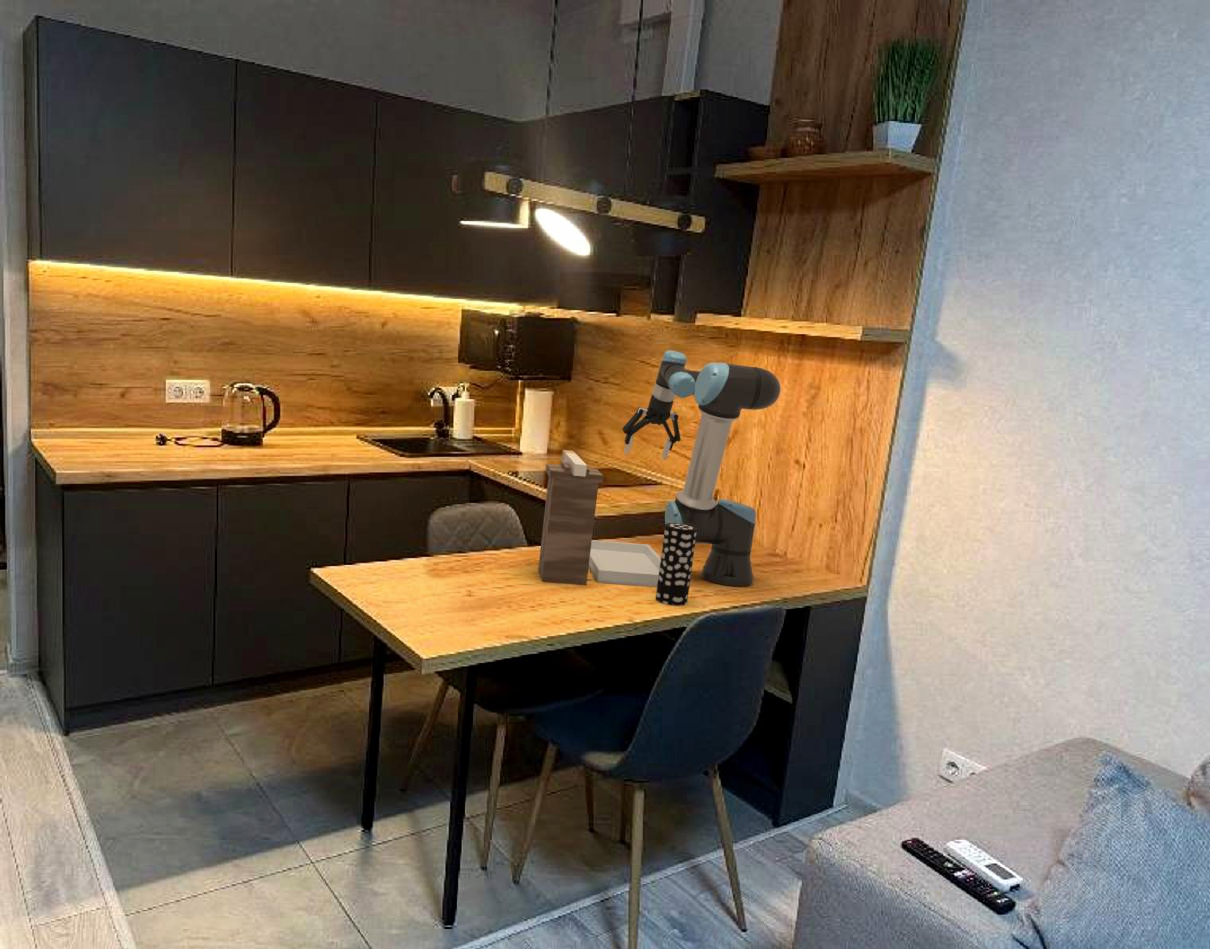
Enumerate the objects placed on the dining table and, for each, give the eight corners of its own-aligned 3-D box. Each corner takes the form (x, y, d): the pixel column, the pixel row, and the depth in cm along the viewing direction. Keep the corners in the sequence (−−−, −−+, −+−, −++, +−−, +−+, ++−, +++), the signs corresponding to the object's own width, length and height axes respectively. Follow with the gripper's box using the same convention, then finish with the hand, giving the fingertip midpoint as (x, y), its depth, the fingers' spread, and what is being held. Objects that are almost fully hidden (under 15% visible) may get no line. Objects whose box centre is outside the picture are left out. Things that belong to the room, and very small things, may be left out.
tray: (675, 588, 256) (676, 576, 255) (597, 582, 252) (598, 570, 251) (647, 555, 293) (648, 544, 292) (579, 549, 289) (580, 538, 288)
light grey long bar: (585, 476, 238) (586, 465, 238) (573, 475, 238) (575, 464, 237) (572, 461, 265) (573, 450, 265) (561, 460, 265) (562, 449, 264)
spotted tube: (663, 594, 248) (672, 521, 245) (691, 601, 244) (701, 527, 242) (650, 600, 241) (660, 525, 238) (679, 607, 237) (690, 531, 234)
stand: (590, 585, 248) (604, 471, 243) (538, 581, 245) (551, 466, 241) (583, 573, 260) (596, 464, 256) (534, 569, 258) (546, 459, 254)
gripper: (693, 398, 308) (675, 455, 316) (624, 387, 300) (607, 445, 308) (701, 407, 301) (682, 465, 310) (630, 396, 293) (613, 455, 302)
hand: (645, 455), depth 309 cm, fingers open, 13 cm apart
